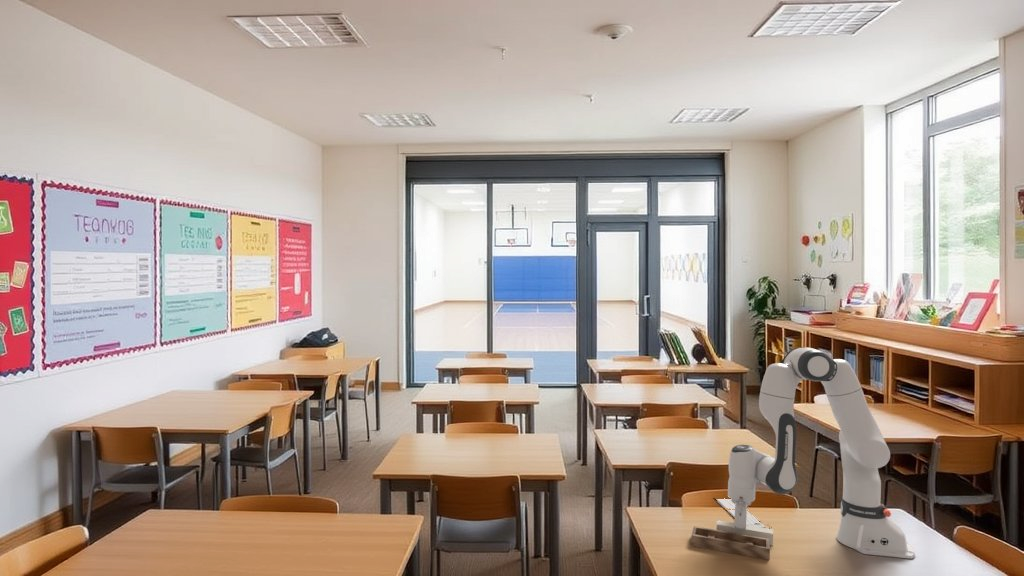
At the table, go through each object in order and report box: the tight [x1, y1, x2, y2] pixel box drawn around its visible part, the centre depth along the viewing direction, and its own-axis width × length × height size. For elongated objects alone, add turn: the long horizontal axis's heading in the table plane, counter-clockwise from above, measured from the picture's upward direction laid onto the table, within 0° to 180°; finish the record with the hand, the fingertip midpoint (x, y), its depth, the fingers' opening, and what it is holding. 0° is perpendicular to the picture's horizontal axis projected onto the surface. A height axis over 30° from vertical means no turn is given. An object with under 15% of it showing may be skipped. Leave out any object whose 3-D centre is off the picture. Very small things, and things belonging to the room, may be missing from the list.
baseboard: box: [715, 498, 773, 529], centre depth 226 cm, size 30×3×10 cm
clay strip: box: [715, 519, 774, 546], centre depth 204 cm, size 18×4×4 cm, turn 68°
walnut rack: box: [690, 525, 771, 561], centre depth 196 cm, size 24×8×4 cm, turn 68°
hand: (740, 532), depth 204 cm, fingers closed on clay strip, 4 cm apart
